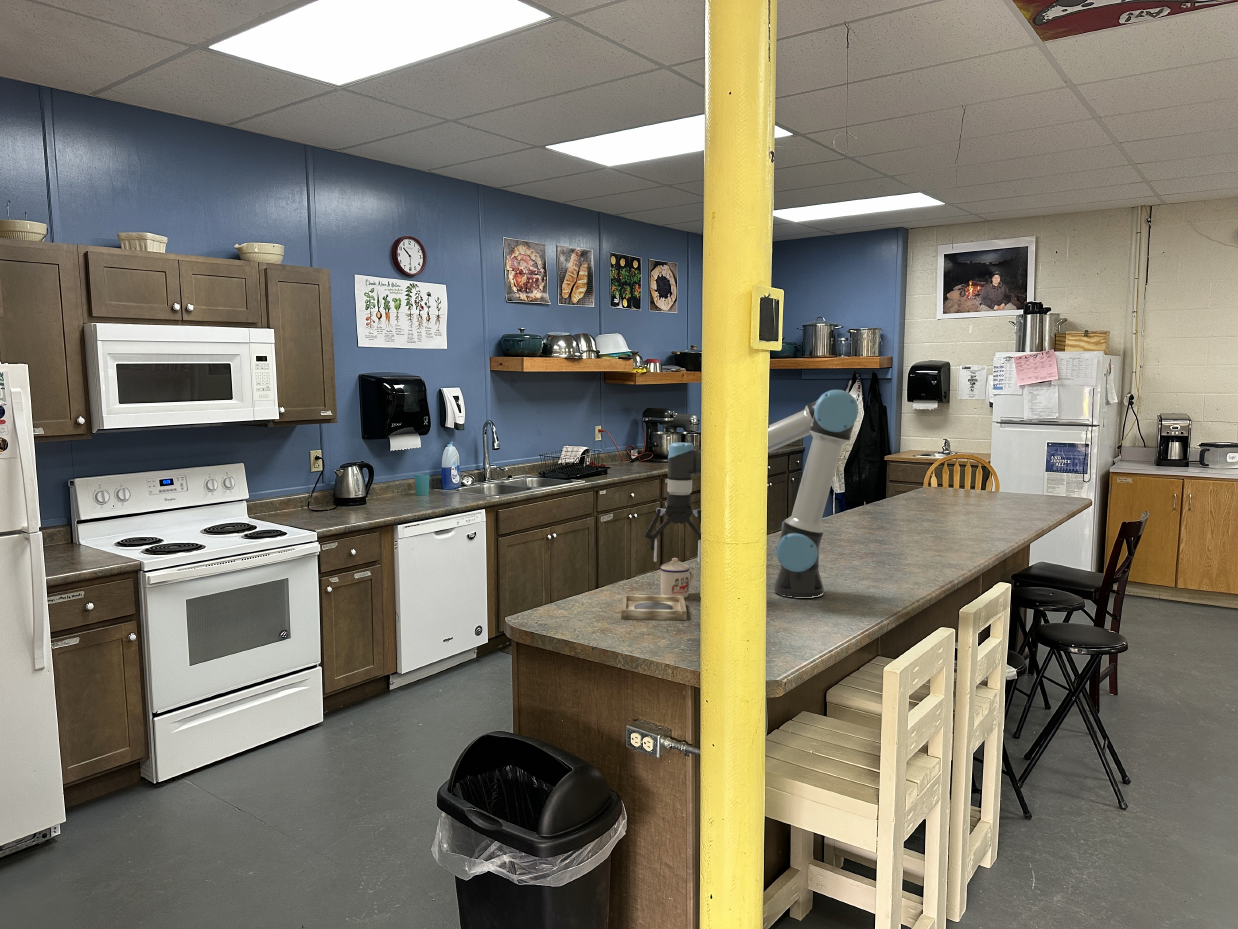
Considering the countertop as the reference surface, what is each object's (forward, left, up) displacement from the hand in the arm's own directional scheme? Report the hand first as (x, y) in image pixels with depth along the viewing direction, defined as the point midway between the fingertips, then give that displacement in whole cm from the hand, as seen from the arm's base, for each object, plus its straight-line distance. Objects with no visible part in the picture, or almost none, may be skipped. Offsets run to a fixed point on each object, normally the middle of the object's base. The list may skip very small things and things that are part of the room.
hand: (677, 561), depth 254 cm
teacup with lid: (0, 0, -11) cm, 11 cm away
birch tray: (+8, +20, -10) cm, 23 cm away
